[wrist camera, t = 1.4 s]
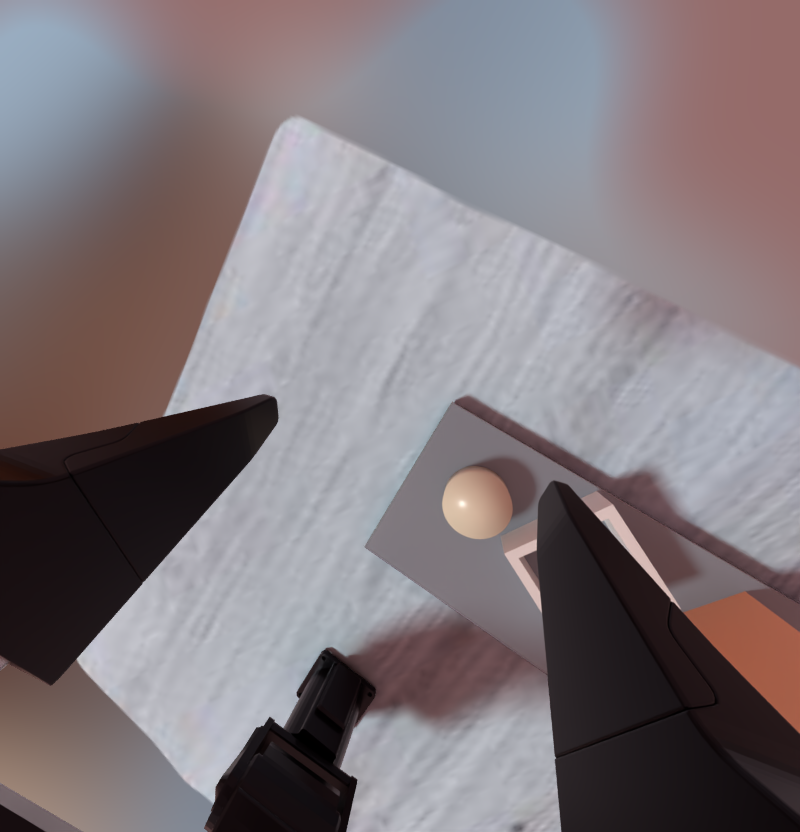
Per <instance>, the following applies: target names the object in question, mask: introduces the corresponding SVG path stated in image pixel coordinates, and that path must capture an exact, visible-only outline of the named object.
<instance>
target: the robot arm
mask: <svg viewBox="0 0 800 832" xmlns="http://www.w3.org/2000/svg"><path fill="white" fill-rule="evenodd" d="M277 422H278V407H277V400H276V398H275V397H272V396H269V395H265V394H262V395H257V396H253V397H249V398H244V399H240V400H235V401H231V402H227V403H222V404H218V405H213V406H209V407H205V408H200V409H196V410H191V411H187V412H183V413H178V414H174V415H169V416H165V417H161V418H156V419H152V420H147V421H143V422H140V423H134V424H130V425H125V426H121V427H116V428H111V429H107V430H102V431H98V432H92V433H87V434H82V435H77V436H71V437H66V438H61V439H56V440H50V441H44V442H39V443H33V444H28V445H22V446H17V447H11V448H6V449H0V670H1V669H2V668H4V667H5V666H6V665H7V664H9V665H11V666H13V667H15V668H17V669H19V670H21V671H23V672H25V673H27V674H29V675H31V676H33V677H34V678H36V679H38V680H40V681H42V682H44V683H46V684H48V685H50V686H51V685H53V684H54V683H55V682H56V681H57V680H58V679H59V678H60V677H61V676H62V674H64V672H65V671H66V670H67V669H68V668H69V667H70V666H71V664H72V663H73V662H74V661H75V660H76V659H77V658H78V657H79V655H80V654H81V653H82V652H83V651H84V650H85V649H86V647H87V646H88V645H89V644H90V643H91V642H92V641H93V639H94V638H95V637H96V636H97V635H98V634H99V633H100V631H101V630H102V629H103V628H104V627H105V626H106V625H107V624H108V622H109V621H110V620H111V619H112V618H113V617H114V616H115V614H116V613H117V612H118V611H119V610H120V609H121V608H122V606H123V605H124V604H125V603H126V602H127V601H128V600H129V599H130V597H131V596H132V595H133V594H134V593H135V592H136V591H137V589H138V588H139V587H140V586H141V585H142V584H143V582H144V581H145V580H146V579H147V578H148V577H149V576H150V574H151V573H152V572H153V571H154V570H155V569H156V568H157V566H158V565H159V564H160V563H161V562H162V561H163V560H164V558H165V557H166V556H167V555H168V554H169V553H170V552H171V551H172V549H173V548H174V547H175V546H176V545H177V544H178V543H179V541H180V540H181V539H182V538H183V537H184V536H185V535H186V533H187V532H188V531H189V530H190V529H191V528H192V527H193V526H194V524H195V523H196V522H197V521H198V520H199V519H200V518H201V516H202V515H203V514H204V513H205V512H206V511H207V510H208V508H209V507H210V506H211V505H212V504H213V503H214V502H215V501H216V499H217V498H218V497H219V496H220V495H221V494H222V493H223V491H224V490H225V489H226V488H227V487H228V486H229V485H230V483H231V482H232V481H233V480H234V479H235V478H236V477H237V476H238V474H239V473H240V472H241V471H242V470H243V469H244V468H245V466H246V465H247V464H248V463H249V462H250V461H251V459H252V458H253V457H254V455H255V454H256V453H257V451H258V450H259V449H260V447H261V446H262V444H263V443H264V442H265V440H266V439H267V437H268V436H269V434H270V433H271V432H272V430H273V429H274V427H275V426H276V424H277ZM537 565H538V576H539V587H540V598H541V609H542V620H543V631H544V642H545V653H546V664H547V675H548V686H549V697H550V708H551V719H552V730H553V741H554V752H555V757H556V759H555V766H556V777H557V788H558V799H559V810H560V821H561V832H800V733H799V732H798V731H797V730H796V729H795V728H794V727H793V726H792V725H791V724H790V723H789V722H788V721H787V720H786V719H785V718H784V717H783V716H782V715H781V714H780V713H779V712H778V711H777V710H776V709H775V708H774V707H773V706H772V705H771V704H770V703H769V702H768V701H767V700H766V699H765V698H764V697H763V696H762V695H761V694H760V693H759V692H758V691H757V690H756V689H755V688H754V687H753V686H752V685H751V684H750V683H749V682H748V681H747V680H746V679H745V678H744V677H743V676H742V675H741V674H740V672H739V671H738V670H737V669H736V668H735V667H734V666H733V665H732V664H731V663H730V662H729V661H728V660H727V659H726V658H725V657H724V656H723V655H722V654H721V653H720V652H719V651H718V650H717V649H716V648H715V647H714V646H713V645H712V643H711V642H710V641H709V640H708V639H707V638H706V637H705V636H704V635H703V634H702V633H701V632H700V630H699V629H698V628H697V627H696V626H695V625H694V624H693V623H692V622H691V621H690V620H689V619H688V617H687V616H686V615H685V614H684V613H683V612H682V611H681V610H680V608H679V607H678V606H677V605H676V604H675V603H674V602H671V599H670V597H669V596H668V595H667V594H666V593H665V592H664V591H663V590H662V589H661V587H660V586H659V585H658V584H657V583H656V582H655V581H654V580H653V578H652V577H651V576H650V575H649V574H648V573H647V572H646V571H645V570H644V568H643V567H642V566H641V565H640V564H639V563H638V562H637V561H636V560H635V558H634V557H633V556H632V555H631V554H630V553H629V552H628V551H627V549H626V548H625V547H624V546H623V545H622V544H621V543H620V542H619V541H618V539H617V538H616V537H615V536H614V535H613V534H612V533H611V532H610V531H609V529H608V528H607V527H606V526H605V525H604V524H603V523H602V522H601V521H600V519H599V518H598V517H597V516H596V515H595V514H594V513H593V512H592V510H591V509H590V508H589V507H588V506H587V505H586V504H585V503H584V502H583V500H582V499H581V498H580V497H579V496H578V495H577V494H576V493H575V492H574V490H573V489H572V488H571V487H570V486H569V485H568V484H566V483H563V482H559V481H556V480H553V481H551V482H550V483H549V485H548V486H547V488H546V489H545V491H544V492H543V494H542V496H541V497H540V499H539V502H538V519H537ZM324 656H325V657H324ZM375 694H376V689H375V688H374V687H373V686H372V685H370V684H369V683H368V682H367V681H365V680H364V679H363V678H361V677H360V676H359V675H358V674H356V673H355V672H354V671H352V670H351V669H350V668H349V667H347V666H346V665H345V664H343V663H342V662H341V661H340V660H338V659H337V658H336V657H334V656H333V655H332V654H331V653H329V652H328V651H326V650H324V651H322V652H321V654H320V655H319V657H318V659H317V660H316V662H315V663H314V665H313V667H312V668H311V670H310V671H309V673H308V675H307V676H306V678H305V679H304V681H303V683H302V684H301V686H300V687H299V689H298V691H297V697H298V698H299V700H298V702H297V704H296V706H295V708H294V709H293V711H292V713H291V715H290V717H289V719H288V721H287V722H286V724H285V726H284V728H282V727H281V726H279V725H278V724H277V723H275V722H274V721H275V720H274V719H272V718H271V717H269V719H268V720H267V722H266V723H265V725H264V726H261V727H257V728H256V729H255V731H254V732H253V734H252V735H251V737H250V739H249V740H248V742H247V743H246V745H245V747H244V748H243V750H242V751H241V752H240V754H239V755H238V756H237V758H236V759H235V760H234V762H233V763H232V764H231V765H230V767H229V768H228V769H227V771H226V772H225V773H224V775H223V776H222V777H221V779H220V780H219V782H218V784H217V786H216V791H215V802H214V805H213V807H212V809H211V811H212V812H211V814H210V816H209V818H208V821H207V823H206V825H205V827H204V829H206V830H207V831H208V832H346V830H347V825H348V821H349V816H350V812H351V807H352V803H353V798H354V794H355V789H356V785H357V779H356V778H354V777H353V776H351V777H350V776H349V775H348V774H346V773H345V772H343V771H342V770H341V769H340V767H341V764H342V761H343V758H344V756H345V753H346V750H347V747H348V744H349V741H350V738H351V735H352V732H353V729H354V726H355V724H356V723H357V721H358V720H359V719H360V717H361V716H362V714H363V713H364V712H365V710H366V709H367V707H368V706H369V705H370V703H371V702H372V700H373V699H374V697H375ZM0 832H82V831H81V830H79V829H77V828H76V827H74V826H72V825H71V824H69V823H67V822H65V821H63V820H62V819H60V818H59V817H57V816H55V815H54V814H52V813H50V812H49V811H47V810H45V809H43V808H42V807H40V806H38V805H37V804H35V803H33V802H31V801H30V800H28V799H26V798H25V797H23V796H21V795H20V794H18V793H16V792H15V791H13V790H11V789H9V788H8V787H6V786H4V785H3V784H1V783H0Z"/></svg>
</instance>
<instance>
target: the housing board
mask: <svg viewBox="0 0 800 832" xmlns="http://www.w3.org/2000/svg"><path fill="white" fill-rule="evenodd" d="M553 480H556V481H559V482H563V483H566V484H568V485H569V486H570V487H571V488H572V489H573V490H574V492H575V493H576V494H577V495H578V496H579V497H580V498H581V499H582V500H583V502H584V503H585V504H586V505H587V506H588V507H589V508H590V509H591V510H592V512H593V513H594V514H595V515H596V516H597V517H598V518H599V519H600V521H601V522H602V523H603V524H604V525H605V526H606V527H607V528H608V529H609V531H610V532H611V533H612V534H613V535H614V536H615V537H616V538H617V539H618V541H619V542H620V543H621V544H622V545H623V546H624V547H625V548H626V549H627V551H628V552H629V553H630V554H631V555H632V556H633V557H634V558H635V560H636V561H637V562H638V563H639V564H640V565H641V566H642V567H643V568H644V570H645V571H646V572H647V573H648V574H649V575H650V576H651V577H652V578H653V580H654V581H655V582H656V583H657V584H658V585H659V586H660V587H661V589H662V590H663V591H664V592H665V593H666V594H667V595H668V596H669V597H670V599H671V602H674V603H675V604H676V605H677V606H678V607H679V608H680V610H681V611H682V612H686V611H689V610H692V609H695V608H698V607H701V606H704V605H706V604H709V603H712V602H715V601H718V600H721V599H724V598H727V597H730V596H733V595H736V594H739V593H742V592H744V591H745V592H747V593H748V594H749V595H751V596H752V597H753V598H755V599H756V600H757V601H759V602H760V603H761V604H763V605H764V606H765V607H767V608H768V609H769V610H771V611H772V612H773V613H775V614H776V615H777V616H779V617H780V618H781V619H783V620H784V621H785V622H787V623H788V624H789V625H791V626H792V627H793V628H795V629H796V630H797V631H799V632H800V604H799V603H797V602H795V601H793V600H792V599H790V598H788V597H787V596H785V595H783V594H781V593H780V592H778V591H776V590H775V589H773V588H771V587H769V586H768V585H766V584H764V583H763V582H761V581H759V580H757V579H756V578H754V577H752V576H751V575H749V574H747V573H745V572H744V571H742V570H740V569H739V568H737V567H735V566H733V565H732V564H730V563H728V562H727V561H725V560H723V559H721V558H720V557H718V556H716V555H715V554H713V553H711V552H709V551H708V550H706V549H704V548H703V547H701V546H699V545H697V544H696V543H694V542H692V541H691V540H689V539H687V538H685V537H684V536H682V535H680V534H679V533H677V532H675V531H673V530H672V529H670V528H668V527H667V526H665V525H663V524H661V523H660V522H658V521H656V520H655V519H653V518H651V517H649V516H648V515H646V514H644V513H643V512H641V511H639V510H637V509H636V508H634V507H632V506H631V505H629V504H627V503H625V502H624V501H622V500H620V499H619V498H617V497H615V496H613V495H612V494H610V493H608V492H607V491H605V490H603V489H601V488H600V487H598V486H596V485H595V484H593V483H591V482H589V481H588V480H586V479H584V478H583V477H581V476H579V475H577V474H576V473H574V472H572V471H571V470H569V469H567V468H565V467H564V466H562V465H560V464H559V463H557V462H555V461H553V460H552V459H550V458H548V457H547V456H545V455H543V454H541V453H540V452H538V451H536V450H535V449H533V448H531V447H529V446H528V445H526V444H524V443H523V442H521V441H519V440H517V439H516V438H514V437H512V436H511V435H509V434H507V433H505V432H504V431H502V430H500V429H499V428H497V427H495V426H493V425H492V424H490V423H488V422H487V421H485V420H483V419H481V418H480V417H478V416H476V415H474V414H473V413H471V412H469V411H468V410H466V409H464V408H462V407H461V406H459V405H457V404H456V403H454V402H452V403H451V404H450V406H449V408H448V409H447V411H446V413H445V414H444V416H443V418H442V419H441V421H440V423H439V424H438V426H437V428H436V429H435V431H434V433H433V434H432V436H431V437H430V439H429V441H428V442H427V444H426V446H425V447H424V449H423V451H422V452H421V454H420V456H419V457H418V459H417V461H416V462H415V464H414V466H413V467H412V469H411V471H410V472H409V474H408V476H407V477H406V479H405V481H404V482H403V484H402V486H401V487H400V489H399V490H398V492H397V494H396V495H395V497H394V499H393V500H392V502H391V504H390V505H389V507H388V509H387V510H386V512H385V514H384V515H383V517H382V519H381V520H380V522H379V524H378V525H377V527H376V529H375V530H374V532H373V534H372V535H371V537H370V539H369V540H368V542H367V543H366V545H365V548H366V549H368V550H369V551H371V552H372V553H374V554H375V555H376V556H378V557H379V558H381V559H382V560H384V561H385V562H386V563H388V564H389V565H391V566H392V567H394V568H395V569H396V570H398V571H399V572H401V573H402V574H404V575H405V576H406V577H408V578H409V579H411V580H412V581H414V582H415V583H416V584H418V585H419V586H421V587H422V588H424V589H425V590H426V591H428V592H429V593H431V594H432V595H434V596H435V597H436V598H438V599H439V600H441V601H442V602H444V603H445V604H446V605H448V606H449V607H451V608H452V609H454V610H455V611H456V612H458V613H459V614H461V615H462V616H464V617H465V618H466V619H468V620H469V621H471V622H472V623H474V624H475V625H476V626H478V627H479V628H481V629H482V630H484V631H485V632H487V633H488V634H489V635H491V636H492V637H494V638H495V639H497V640H498V641H499V642H501V643H502V644H504V645H505V646H507V647H508V648H509V649H511V650H512V651H514V652H515V653H517V654H518V655H519V656H521V657H522V658H524V659H525V660H527V661H528V662H529V663H531V664H532V665H534V666H535V667H537V668H538V669H539V670H541V671H542V672H544V673H545V674H547V664H546V653H545V642H544V631H543V620H542V609H541V598H540V587H539V576H538V565H537V519H538V502H539V499H540V497H541V496H542V494H543V492H544V491H545V489H546V488H547V486H548V485H549V483H550V482H551V481H553Z"/></svg>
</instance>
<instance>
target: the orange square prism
mask: <svg viewBox="0 0 800 832" xmlns="http://www.w3.org/2000/svg"><path fill="white" fill-rule="evenodd" d="M683 613H684V614H685V615H686V616H687V617H688V619H689V620H690V621H691V622H692V623H693V624H694V625H695V626H696V627H697V628H698V629H699V630H700V632H701V633H702V634H703V635H704V636H705V637H706V638H707V639H708V640H709V641H710V642H711V643H712V645H713V646H714V647H715V648H716V649H717V650H718V651H719V652H720V653H721V654H722V655H723V656H724V657H725V658H726V659H727V660H728V661H729V662H730V663H731V664H732V665H733V666H734V667H735V668H736V669H737V670H738V671H739V672H740V674H741V675H742V676H743V677H744V678H745V679H746V680H747V681H748V682H749V683H750V684H751V685H752V686H753V687H754V688H755V689H756V690H757V691H758V692H759V693H760V694H761V695H762V696H763V697H764V698H765V699H766V700H767V701H768V702H769V703H770V704H771V705H772V706H773V707H774V708H775V709H776V710H777V711H778V712H779V713H780V714H781V715H782V716H783V717H784V718H785V719H786V720H787V721H788V722H789V723H790V724H791V725H792V726H793V727H794V728H795V729H796V730H797V731H798V732H799V733H800V632H799V631H797V630H796V629H795V628H793V627H792V626H791V625H789V624H788V623H787V622H785V621H784V620H783V619H781V618H780V617H779V616H777V615H776V614H775V613H773V612H772V611H771V610H769V609H768V608H767V607H765V606H764V605H763V604H761V603H760V602H759V601H757V600H756V599H755V598H753V597H752V596H751V595H749V594H748V593H747V592H745V591H744V592H742V593H739V594H736V595H733V596H730V597H727V598H724V599H721V600H718V601H715V602H712V603H709V604H706V605H704V606H701V607H698V608H695V609H692V610H689V611H686V612H683Z"/></svg>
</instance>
